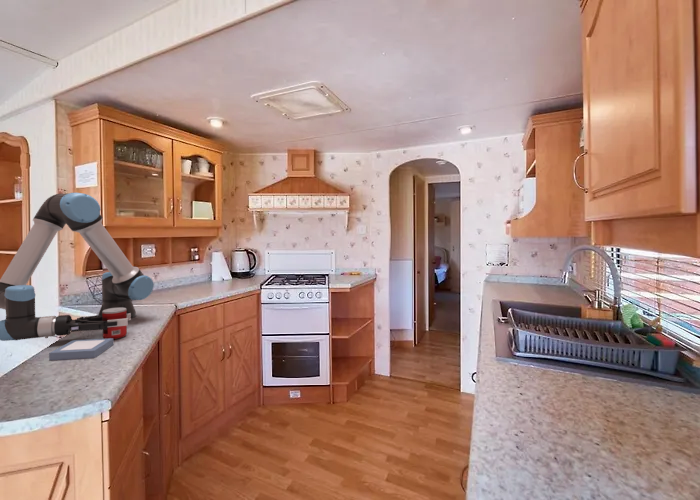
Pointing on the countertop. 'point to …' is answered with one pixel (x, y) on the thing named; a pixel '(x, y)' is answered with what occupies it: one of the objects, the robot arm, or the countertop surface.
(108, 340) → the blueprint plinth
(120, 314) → the canned food
